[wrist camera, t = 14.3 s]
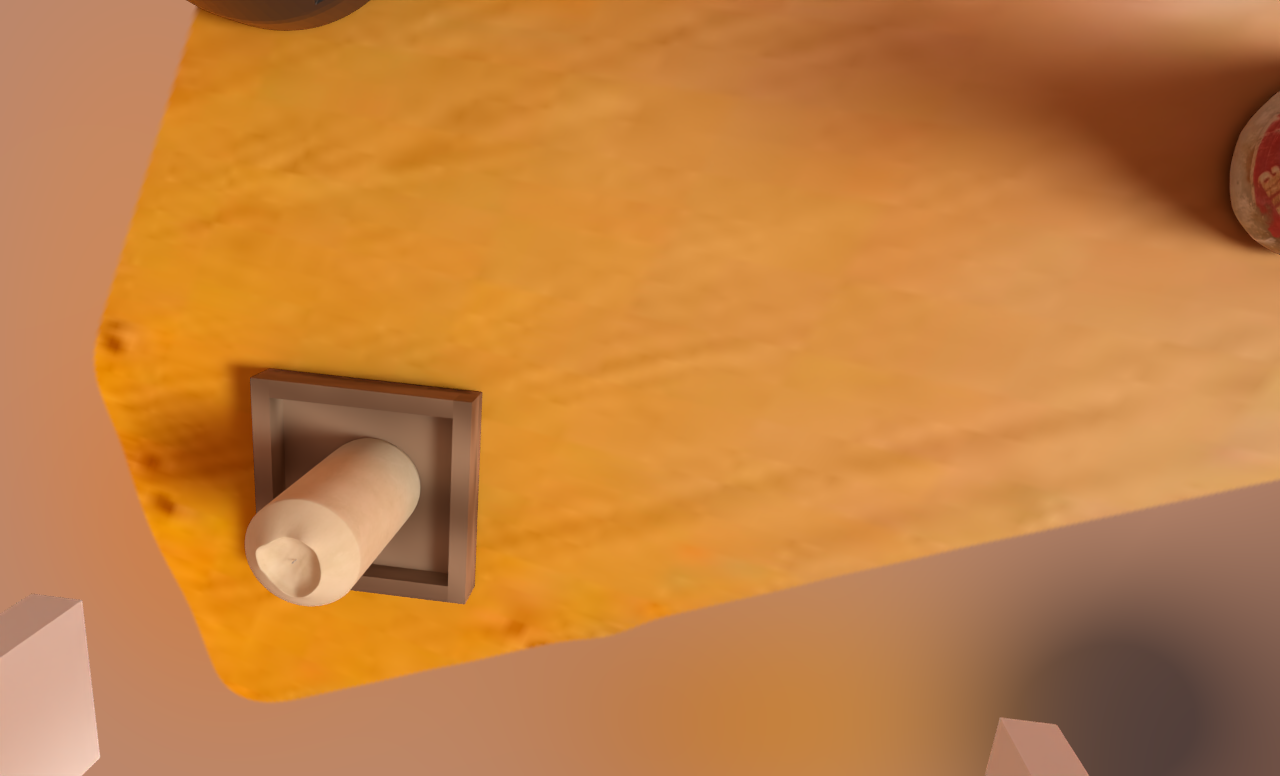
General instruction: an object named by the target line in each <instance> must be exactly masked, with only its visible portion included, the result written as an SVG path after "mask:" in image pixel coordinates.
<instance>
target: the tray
mask: <svg viewBox="0 0 1280 776" xmlns="http://www.w3.org/2000/svg"><path fill="white" fill-rule="evenodd" d="M250 385H251V407H252V430H253V452H254V475H255V497H256V514H257V513H258V512H259V511H260V510H261V509H262V508H263V507H265V506H266V505H267V504H268V503H270V502H271V501H272V500H273V499H275V498H276V497H277V496H278V495H280V494H281V493H282V492H283V491H285V490H286V489H287V488H289V487H290V486H291V485H292V484H294V483H295V482H296V481H297V480H299V479H300V478H301V477H302V476H304V475H305V474H306V473H307V472H309V471H310V470H311V469H312V468H314V467H315V466H316V465H317V464H319V463H320V462H321V461H323V460H324V459H325V458H326V457H328V456H329V455H330V454H331V453H333V452H334V451H335V450H337V449H338V448H339V447H341V446H342V445H344V444H346V443H348V442H351V441H353V440H357V439H362V438H375V439H380V440H384V441H387V442H389V443H391V444H393V445H395V446H397V447H398V448H399V449H401V450H402V451H403V452H404V453H405V454H406V455H407V456H408V457H409V458H410V459H411V461H412V462H413V464H414V465H415V467H416V469H417V472H418V475H419V479H420V486H421V487H420V497H419V500H418V503H417V506H416V508H415V509H414V511H413V513H412V514H411V515H410V517H409V518H408V519H407V521H406V522H405V523H404V524H403V526H402V527H401V528H400V529H399V531H398V532H397V533H396V534H395V536H394V537H393V538H392V539H391V540H390V542H389V543H388V544H387V545H386V547H385V548H384V549H383V550H382V552H381V553H380V554H379V555H378V556H377V558H376V559H375V560H374V561H373V563H372V564H371V565H370V566H369V568H368V569H367V570H366V571H365V572H364V574H363V575H362V576H361V577H360V579H359V580H358V581H357V582H356V584H355V585H354V586H353V587H352V588H351V590H354V591H362V592H370V593H378V594H386V595H394V596H402V597H410V598H418V599H426V600H434V601H442V602H450V603H458V604H465V603H466V601H467V599H468V597H469V596H470V594H471V592H472V590H473V588H474V586H475V561H476V536H477V510H478V485H479V460H480V434H481V409H482V392H476V391H467V390H458V389H449V388H440V387H431V386H423V385H414V384H405V383H396V382H387V381H378V380H369V379H360V378H351V377H342V376H333V375H324V374H315V373H306V372H297V371H288V370H279V369H268V370H265V371H263V372H261V373H259V374H257V375H255V376H253V377H251V378H250Z"/></svg>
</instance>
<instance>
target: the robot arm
mask: <svg viewBox="0 0 1280 776" xmlns="http://www.w3.org/2000/svg"><path fill="white" fill-rule="evenodd" d="M187 1H189V2H191V3H192V4H194V5H196V6H198V7H200V8H202V9H204V10H206V11H208V12H210V13H213V14H216V15H218V16H221V17H224V18H227V19H231V20H234V21H237V22H240V23H243V24H247V25H250V26H254V27H259V28H263V29H271V30H284V31H289V30H303V29H310V28H315V27H319V26H322V25H326V24H329V23H332V22H334V21H337V20H339V19H341V18H343V17H345V16H347V15H349V14H351V13H352V12H354V11H356V10H357V9H359V8H360V7H362V6H363V5H364V4H366V3H367V2H368V1H370V0H187ZM99 758H100V753H99V745H98V735H97V726H96V718H95V709H94V700H93V692H92V683H91V675H90V665H89V656H88V647H87V639H86V630H85V622H84V612H83V605H82V600H77V599H69V598H61V597H54V596H46V595H38V594H30V595H29V596H27V597H26V598H24V599H23V600H21V601H19V602H18V603H16V604H15V605H13V606H12V607H10V608H9V609H7V610H5V611H4V612H2V613H1V614H0V776H82V775H83V774H84V773H85V772H86V771H87V770H88V769H89V768H90V767H91V766H92V765H93V764H94V763H95V762H96V761H97V760H98V759H99ZM985 776H1089V775H1088V773H1087V772H1086V770H1085V769H1084V767H1083V765H1082V764H1081V762H1080V761H1079V759H1078V757H1077V756H1076V754H1075V753H1074V751H1073V750H1072V748H1071V746H1070V745H1069V743H1068V742H1067V740H1066V739H1065V737H1064V736H1063V734H1062V732H1061V731H1060V729H1059V728H1058V726H1057V725H1055V724H1048V723H1040V722H1032V721H1024V720H1016V719H1008V718H1001V717H1000V720H999V723H998V727H997V731H996V735H995V739H994V742H993V747H992V750H991V754H990V758H989V762H988V766H987V769H986V774H985Z"/></svg>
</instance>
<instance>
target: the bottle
mask: <svg viewBox="0 0 1280 776" xmlns="http://www.w3.org/2000/svg"><path fill="white" fill-rule="evenodd" d="M1230 197H1231V204H1232V208H1233V211H1234V213H1235V215H1236V217H1237V219H1238V221H1239V222H1240V223H1241V225H1242V226H1243V228H1244V229H1245V230H1246V232H1247V233H1248V234H1249V235H1250V236H1251V237H1252V238H1253V239H1254V240H1255V241H1257V242H1258V243H1259V244H1261V245H1262V246H1264V247H1266V248H1267V249H1269V250H1271V251H1273V252H1275V253H1277V254H1279V255H1280V91H1278V92H1277V93H1276V94H1275V95H1274V96H1273V97H1271V98H1270V99H1269V100H1268V101H1267V102H1266V103H1265V104H1264V105H1263V106H1262V107H1261V108H1260V109H1259V110H1258V111H1257V112H1256V113H1255V114H1254V115H1253V116H1252V117H1251V119H1250V120H1249V121H1248V123H1247V124H1246V126H1245V127H1244V128H1243V130H1242V131H1241V133H1240V135H1239V138H1238V141H1237V144H1236V147H1235V151H1234V154H1233V158H1232V162H1231V167H1230Z"/></svg>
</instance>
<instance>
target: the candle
mask: <svg viewBox="0 0 1280 776" xmlns="http://www.w3.org/2000/svg"><path fill="white" fill-rule="evenodd" d="M420 487H421V486H420V479H419V475H418V472H417V469H416V467H415V465H414V464H413V462H412V461H411V459H410V458H409V457H408V456H407V455H406V454H405V453H404V452H403V451H402V450H401V449H399V448H398V447H397V446H395V445H393V444H391V443H389V442H387V441H384V440H380V439H375V438H362V439H357V440H353V441H351V442H348V443H346V444H344V445H342V446H341V447H339V448H338V449H337V450H335V451H334V452H333V453H331V454H330V455H329V456H328V457H326V458H325V459H324V460H323V461H321V462H320V463H319V464H317V465H316V466H315V467H314V468H312V469H311V470H310V471H309V472H307V473H306V474H305V475H304V476H302V477H301V478H300V479H299V480H297V481H296V482H295V483H294V484H292V485H291V486H290V487H289V488H287V489H286V490H285V491H283V492H282V493H281V494H280V495H278V496H277V497H276V498H275V499H273V500H272V501H271V502H270V503H268V504H267V505H266V506H265V507H263V508H262V509H261V510H260V511H259V512H258V513H257V514H256V515H255V516H254V517H253V519H252V520H251V522H250V524H249V526H248V528H247V532H246V535H245V552H246V557H247V560H248V563H249V566H250V568H251V570H252V572H253V573H254V575H255V576H256V578H257V579H258V580H259V582H260V583H261V584H262V585H263V586H264V587H265V588H266V589H267V590H269V591H270V592H271V593H273V594H274V595H276V596H277V597H279V598H281V599H283V600H285V601H288V602H290V603H293V604H297V605H303V606H321V605H326V604H329V603H332V602H335V601H336V600H338V599H340V598H342V597H343V596H344V595H346V594H347V593H348V592H349V591H350V590H351V588H352V587H353V586H354V585H355V584H356V582H357V581H358V580H359V579H360V577H361V576H362V575H363V574H364V572H365V571H366V570H367V569H368V568H369V566H370V565H371V564H372V563H373V561H374V560H375V559H376V558H377V556H378V555H379V554H380V553H381V552H382V550H383V549H384V548H385V547H386V545H387V544H388V543H389V542H390V540H391V539H392V538H393V537H394V536H395V534H396V533H397V532H398V531H399V529H400V528H401V527H402V526H403V524H404V523H405V522H406V521H407V519H408V518H409V517H410V515H411V514H412V513H413V511H414V509H415V508H416V506H417V503H418V500H419V497H420Z"/></svg>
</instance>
